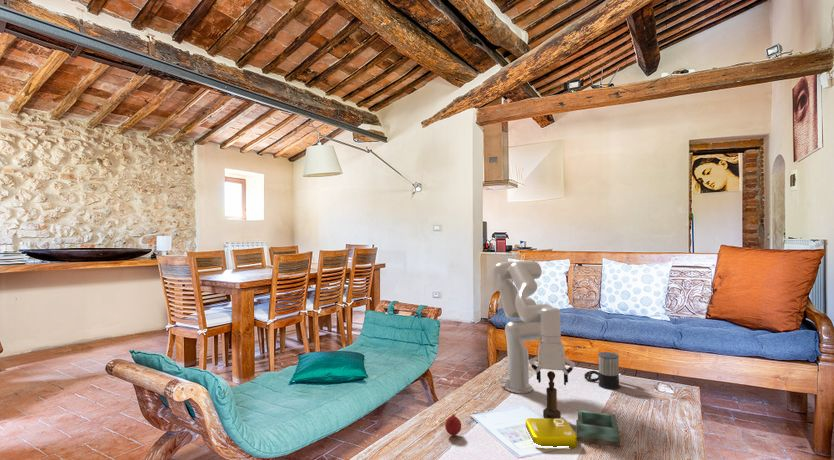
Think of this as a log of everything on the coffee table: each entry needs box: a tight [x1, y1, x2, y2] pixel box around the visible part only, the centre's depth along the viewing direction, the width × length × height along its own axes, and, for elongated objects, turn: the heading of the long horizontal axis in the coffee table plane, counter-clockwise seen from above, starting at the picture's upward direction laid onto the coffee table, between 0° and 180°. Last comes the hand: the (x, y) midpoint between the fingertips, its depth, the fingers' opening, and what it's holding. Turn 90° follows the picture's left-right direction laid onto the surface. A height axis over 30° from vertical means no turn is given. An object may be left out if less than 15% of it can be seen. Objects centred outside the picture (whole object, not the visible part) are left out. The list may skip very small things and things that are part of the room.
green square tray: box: [575, 409, 622, 449], centre depth 151 cm, size 14×14×6 cm
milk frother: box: [583, 351, 621, 390], centre depth 201 cm, size 14×16×15 cm
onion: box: [444, 413, 462, 437], centre depth 152 cm, size 6×6×8 cm
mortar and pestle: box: [542, 370, 562, 418], centre depth 166 cm, size 7×6×18 cm
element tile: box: [525, 417, 578, 450], centre depth 149 cm, size 15×15×5 cm
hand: (552, 382), depth 165 cm, fingers open, 9 cm apart
